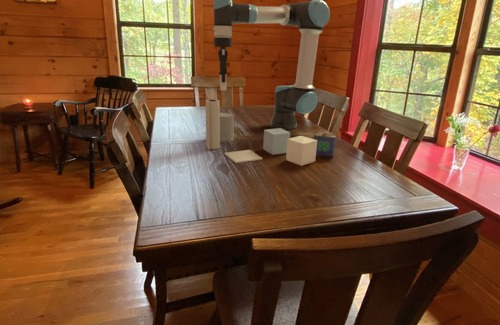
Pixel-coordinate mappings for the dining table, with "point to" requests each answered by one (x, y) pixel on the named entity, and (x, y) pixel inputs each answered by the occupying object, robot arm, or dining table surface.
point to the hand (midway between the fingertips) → (223, 88)
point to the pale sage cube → (276, 141)
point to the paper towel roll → (212, 124)
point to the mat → (243, 156)
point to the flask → (325, 145)
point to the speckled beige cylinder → (226, 127)
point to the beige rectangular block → (301, 150)
